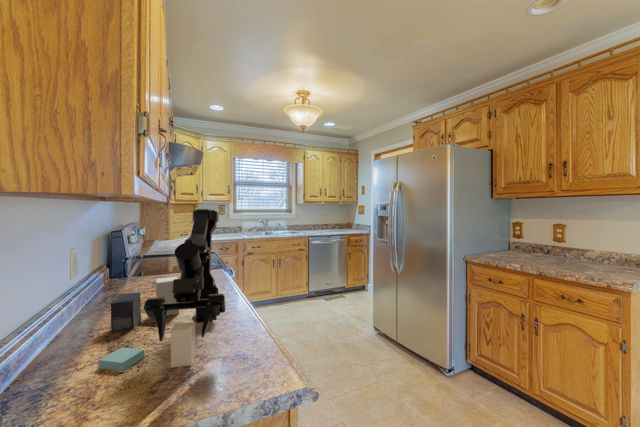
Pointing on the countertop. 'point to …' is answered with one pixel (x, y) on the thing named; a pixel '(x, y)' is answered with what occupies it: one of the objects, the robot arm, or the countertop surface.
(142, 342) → the countertop surface
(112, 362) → the teal square slab
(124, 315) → the small box
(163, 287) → the supplement box
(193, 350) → the cream column
